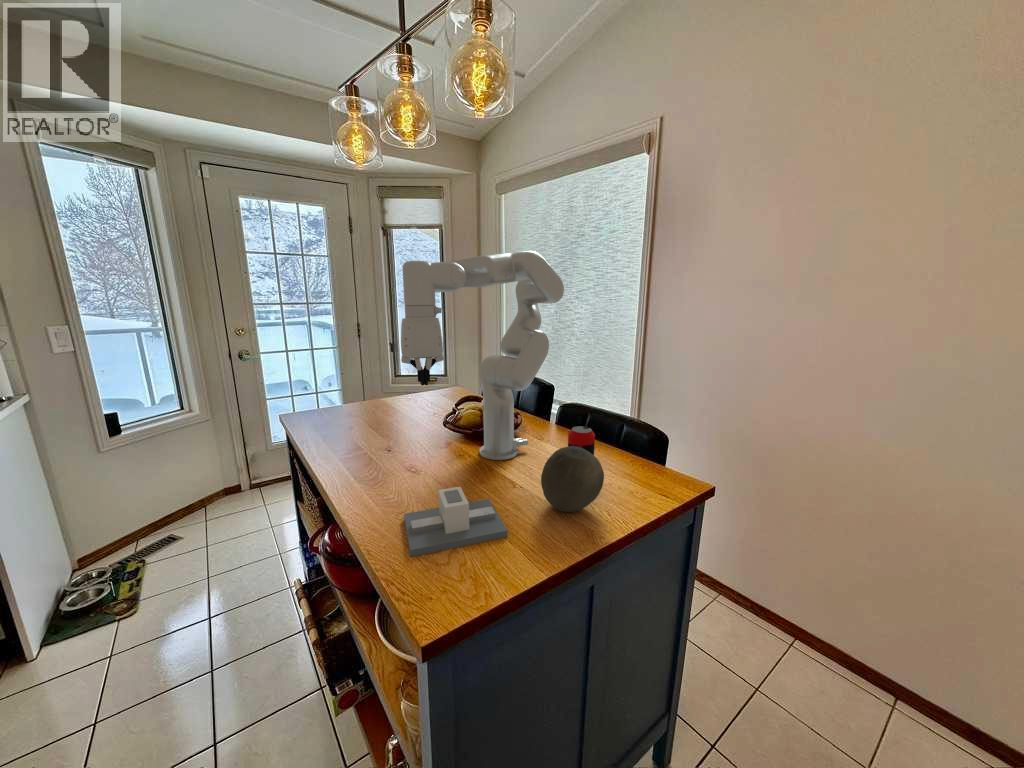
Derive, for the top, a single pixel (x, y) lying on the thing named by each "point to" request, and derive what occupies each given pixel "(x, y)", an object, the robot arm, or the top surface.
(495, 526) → the board
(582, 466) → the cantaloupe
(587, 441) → the soda can
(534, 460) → the top surface
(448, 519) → the module
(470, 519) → the steel rail
